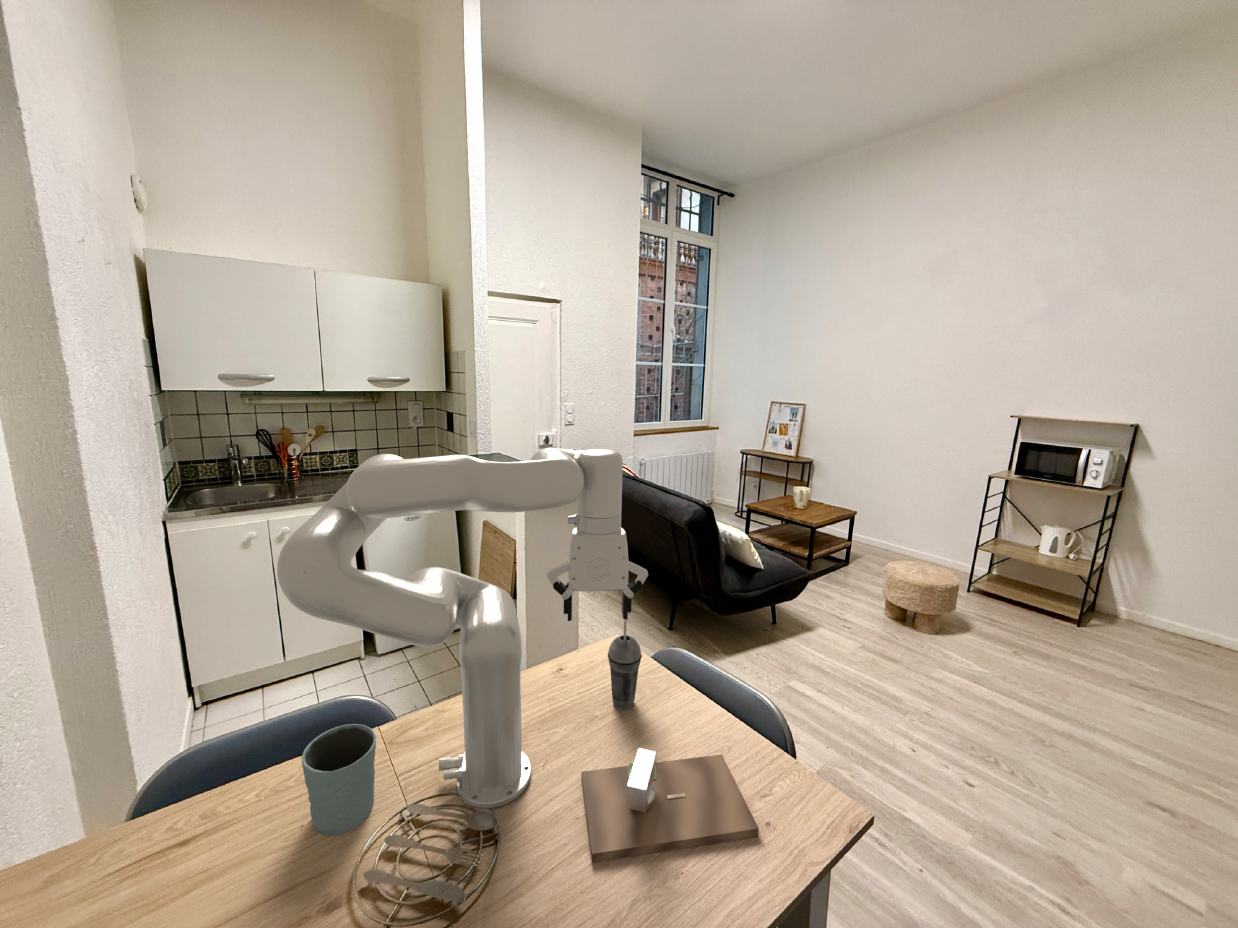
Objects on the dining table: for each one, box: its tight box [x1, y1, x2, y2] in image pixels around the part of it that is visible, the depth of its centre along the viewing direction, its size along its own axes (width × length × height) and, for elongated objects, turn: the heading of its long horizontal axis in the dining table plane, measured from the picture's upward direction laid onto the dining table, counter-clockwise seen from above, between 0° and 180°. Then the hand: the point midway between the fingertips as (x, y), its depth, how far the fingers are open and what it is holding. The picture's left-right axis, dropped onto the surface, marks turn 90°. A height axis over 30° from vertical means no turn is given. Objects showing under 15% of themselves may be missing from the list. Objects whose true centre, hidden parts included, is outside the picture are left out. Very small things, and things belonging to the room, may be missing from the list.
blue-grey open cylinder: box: [301, 723, 377, 837], centre depth 77 cm, size 10×10×12 cm
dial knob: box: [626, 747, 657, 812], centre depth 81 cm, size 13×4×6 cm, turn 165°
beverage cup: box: [607, 619, 643, 711], centre depth 103 cm, size 7×7×20 cm
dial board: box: [580, 754, 760, 863], centre depth 80 cm, size 26×15×2 cm, turn 100°
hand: (597, 616), depth 85 cm, fingers open, 9 cm apart
